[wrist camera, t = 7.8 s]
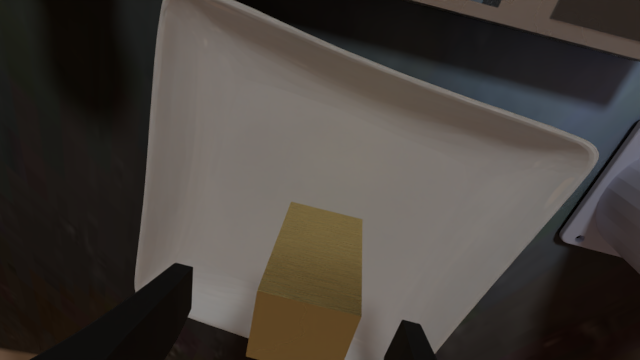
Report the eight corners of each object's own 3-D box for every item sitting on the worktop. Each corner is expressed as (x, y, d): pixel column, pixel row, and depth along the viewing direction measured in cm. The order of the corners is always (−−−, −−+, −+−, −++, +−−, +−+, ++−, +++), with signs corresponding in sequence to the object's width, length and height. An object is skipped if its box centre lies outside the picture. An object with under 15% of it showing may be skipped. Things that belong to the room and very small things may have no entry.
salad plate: (155, 270, 27) (128, 304, 24) (193, -22, 17) (156, -29, 14) (400, 354, 28) (404, 397, 25) (572, 124, 18) (615, 148, 15)
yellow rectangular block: (362, 219, 18) (361, 316, 12) (344, 272, 20) (336, 379, 14) (290, 201, 18) (256, 290, 12) (279, 256, 20) (245, 356, 14)
